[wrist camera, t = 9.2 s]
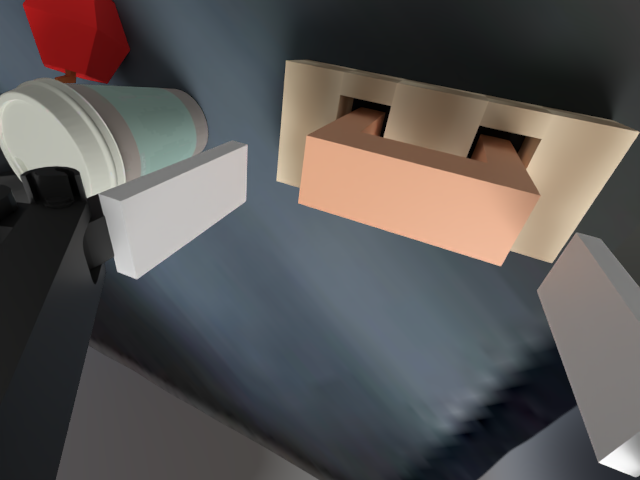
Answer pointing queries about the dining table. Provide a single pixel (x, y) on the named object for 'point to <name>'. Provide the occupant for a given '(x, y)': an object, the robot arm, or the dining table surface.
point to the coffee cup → (99, 130)
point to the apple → (78, 37)
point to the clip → (419, 187)
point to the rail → (464, 138)
